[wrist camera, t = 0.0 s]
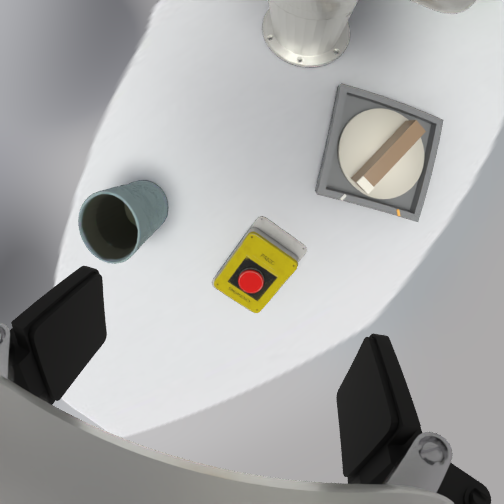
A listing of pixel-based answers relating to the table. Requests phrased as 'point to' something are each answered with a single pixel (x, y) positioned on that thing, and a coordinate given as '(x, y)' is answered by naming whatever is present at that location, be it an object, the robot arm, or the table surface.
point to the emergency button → (259, 265)
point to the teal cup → (121, 219)
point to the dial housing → (331, 174)
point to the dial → (381, 153)
